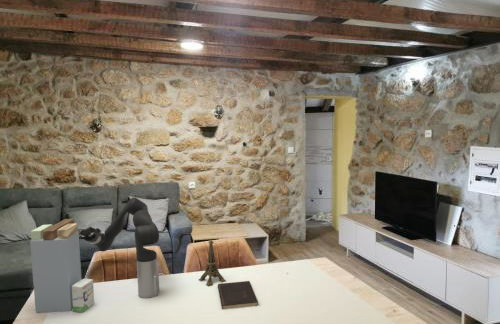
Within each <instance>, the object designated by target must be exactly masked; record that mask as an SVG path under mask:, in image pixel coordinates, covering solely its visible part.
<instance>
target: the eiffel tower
mask: <svg viewBox="0 0 500 324" xmlns="http://www.w3.org/2000/svg"><path fill="white" fill-rule="evenodd" d="M208 244H209V245H208V247H209V249H208V255H207V256H208V257H207V258H208V259H207V261H206V268H205V269H204V273H203V274H202V275H201V276H200V278H199V279H198V281H199V282H205V281H206V278H207V277H208V279H207V281H206V284H205V286H206V287H212V286H214V284H213V279H212V278H214V279H215V278H218V281H219V282H220V283H226V282H227V280H226V279H225V278H224V276H223V275H222V274H221V273H220V270H219V269H218V267H217V263H218V262H217V261H216V257H215V251H214V246H213V245H214V241H213V240H208Z"/></svg>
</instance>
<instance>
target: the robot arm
mask: <svg viewBox="0 0 500 324" xmlns="http://www.w3.org/2000/svg"><path fill="white" fill-rule="evenodd" d="M127 214H130V215H132V223H133V226H134V241H135V250H136V254H135V255H136V272H137V293H138V294H137V295H138V297H140V298H143V299H144V298H145V299H147V298H152V297H157V296H158V294H159V292H160V277H159V271H158V259H157V258H158V257H157V252H156V251H155V250H153V249H149V248H146V247H144V246H150V245H155V244H157V243H159V239H160V231H159V229H158V227H157V225H156V224H155V223H154V221H153V220H152V217H151V215H150V213H149V209H148V205H147V204H146V203H145V202H144V201H141V200H140V199H139V198H137V197H135V196H134V197H132V198H130V199H129V200H128V201H127V202H126V203H125V205H124V207H123V208H122V209H121V211H120V212H119V213H118V214H117V216H116V217H115V219H114V220H113V222H111V224H110V225H109V226H108V227H107V228H106V229H105V230H104V233H103V232H102V230H101V229H100V228H98V227H97V228H95V227H92V226H88V227H87V228H84V229H83V228H77V231H78V233H79V237H80V236H81V237H82V239H83V240H84V241H85V242H87V243H88V244H92V245H94V246H96V247H97V249H98V250H99V251H100V252H106V251H108V250H109V249H110V248H111V246H112V245H113V242H114V240H115V239H116V238H117V236H118V235H119V234H120V233H121V232H122V230H123V228H124V224H125V217H126V215H127Z"/></svg>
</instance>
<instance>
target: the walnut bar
mask: <svg viewBox="0 0 500 324" xmlns="http://www.w3.org/2000/svg"><path fill="white" fill-rule="evenodd" d="M67 224H75V220H74V218H65V219H63V220H61V221H59V222H58V223H55V224H52V227H50V228H48V229H46V230H44V231H43V241H44V240H54V239H56V238H57V237H58V235H57V230H58V229H60V228H62V227H63V226H65V225H67Z"/></svg>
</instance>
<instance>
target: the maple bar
mask: <svg viewBox="0 0 500 324" xmlns="http://www.w3.org/2000/svg"><path fill="white" fill-rule="evenodd" d="M77 229H78V223H76V222H74V224H67V225H65V226H63V227H62V228H60V229H58V230H57V235H58V239H68V238H69V237H71V236H72V235H74V234H75V233H77Z"/></svg>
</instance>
